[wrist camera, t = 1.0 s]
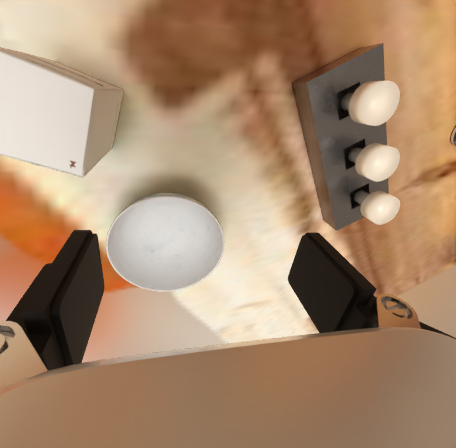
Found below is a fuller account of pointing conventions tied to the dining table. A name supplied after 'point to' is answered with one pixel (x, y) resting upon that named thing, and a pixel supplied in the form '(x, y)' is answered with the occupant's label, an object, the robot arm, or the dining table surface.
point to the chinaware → (165, 242)
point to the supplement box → (55, 114)
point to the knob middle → (375, 161)
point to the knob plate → (339, 132)
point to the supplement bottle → (453, 137)
